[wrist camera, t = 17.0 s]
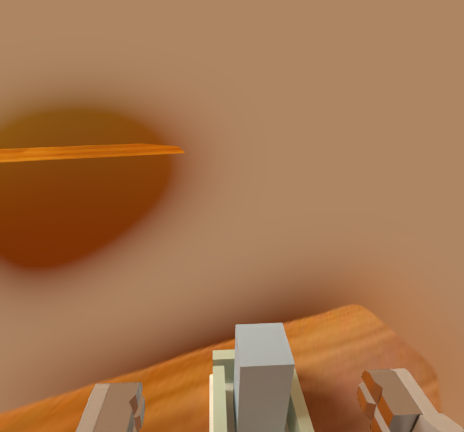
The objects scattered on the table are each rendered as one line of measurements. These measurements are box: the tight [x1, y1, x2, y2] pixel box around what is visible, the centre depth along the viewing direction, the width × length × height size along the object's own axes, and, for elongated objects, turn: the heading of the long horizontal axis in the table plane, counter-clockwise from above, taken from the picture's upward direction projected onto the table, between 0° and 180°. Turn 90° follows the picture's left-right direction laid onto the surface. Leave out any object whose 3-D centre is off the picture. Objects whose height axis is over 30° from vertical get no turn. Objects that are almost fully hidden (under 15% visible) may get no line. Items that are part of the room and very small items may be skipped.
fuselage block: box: [233, 323, 295, 432], centre depth 33 cm, size 6×6×14 cm
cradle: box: [210, 350, 314, 432], centre depth 35 cm, size 12×14×6 cm
